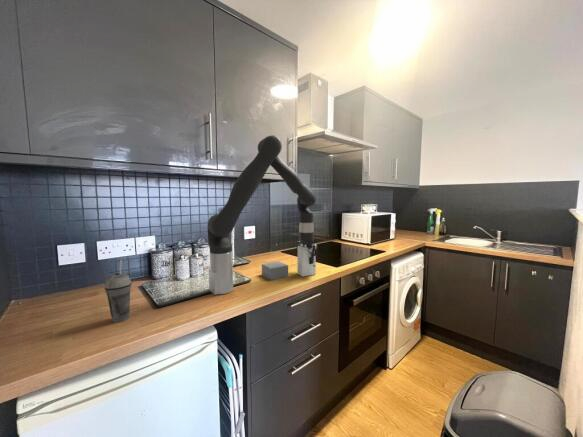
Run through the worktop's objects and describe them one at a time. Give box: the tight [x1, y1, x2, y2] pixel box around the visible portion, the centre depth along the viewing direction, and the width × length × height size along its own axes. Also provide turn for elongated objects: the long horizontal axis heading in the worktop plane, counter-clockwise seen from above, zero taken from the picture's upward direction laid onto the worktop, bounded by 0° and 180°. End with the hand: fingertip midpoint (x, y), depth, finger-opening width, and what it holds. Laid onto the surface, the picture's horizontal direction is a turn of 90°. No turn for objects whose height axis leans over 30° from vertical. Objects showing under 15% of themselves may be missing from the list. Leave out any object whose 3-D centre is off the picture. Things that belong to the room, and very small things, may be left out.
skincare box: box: [296, 246, 317, 277], centre depth 123 cm, size 8×6×15 cm
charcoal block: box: [261, 260, 289, 281], centre depth 121 cm, size 10×10×6 cm
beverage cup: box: [104, 259, 132, 323], centre depth 77 cm, size 7×7×20 cm
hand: (306, 262), depth 123 cm, fingers closed on skincare box, 6 cm apart
